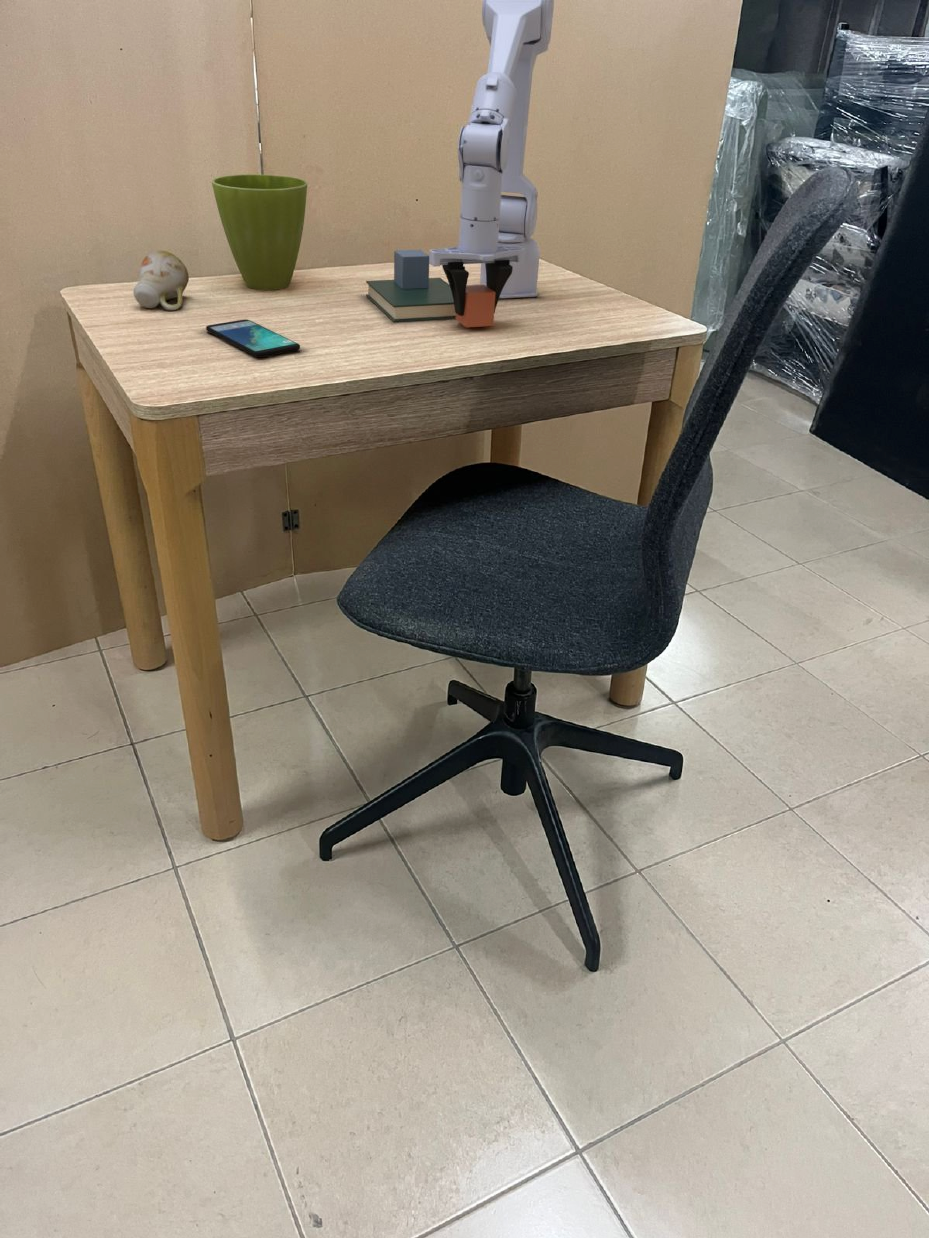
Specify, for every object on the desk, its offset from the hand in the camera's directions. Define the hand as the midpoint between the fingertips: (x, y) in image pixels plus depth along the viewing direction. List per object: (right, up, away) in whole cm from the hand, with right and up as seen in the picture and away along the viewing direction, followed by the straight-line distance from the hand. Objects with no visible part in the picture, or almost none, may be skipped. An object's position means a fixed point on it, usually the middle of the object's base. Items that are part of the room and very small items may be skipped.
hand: (474, 313), depth 138 cm
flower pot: (-35, +10, +15) cm, 39 cm away
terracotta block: (0, -1, +1) cm, 1 cm away
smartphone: (-32, -8, -11) cm, 34 cm away
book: (-9, +4, +9) cm, 13 cm away
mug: (-49, +2, +3) cm, 49 cm away
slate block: (-10, +8, +10) cm, 16 cm away
